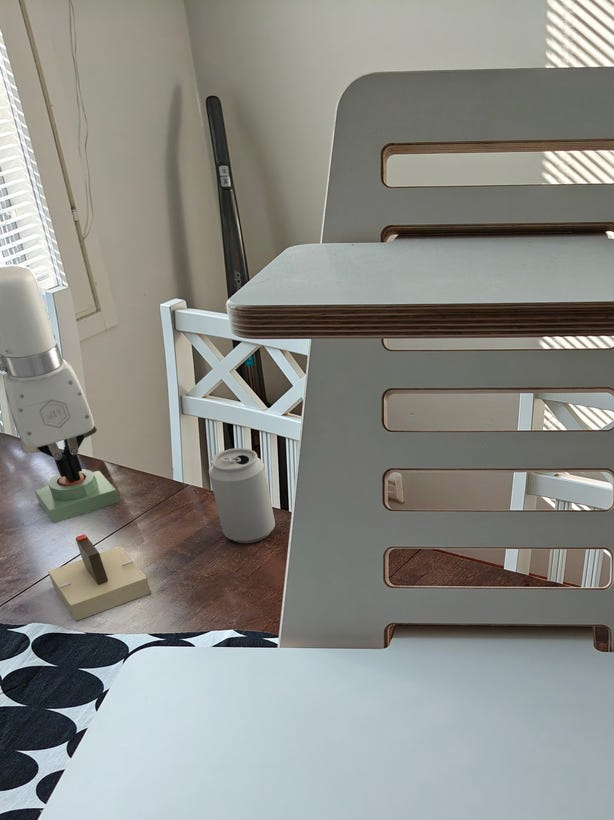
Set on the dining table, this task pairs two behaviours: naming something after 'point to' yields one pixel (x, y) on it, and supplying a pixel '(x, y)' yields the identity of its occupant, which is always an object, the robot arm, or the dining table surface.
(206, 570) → the dining table surface
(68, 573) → the plate
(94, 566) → the thumbturn
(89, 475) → the button base
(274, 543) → the dining table surface
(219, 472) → the can
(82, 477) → the button
